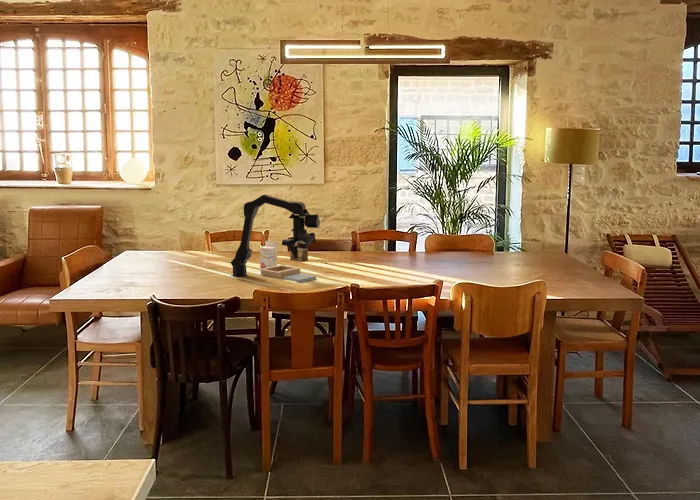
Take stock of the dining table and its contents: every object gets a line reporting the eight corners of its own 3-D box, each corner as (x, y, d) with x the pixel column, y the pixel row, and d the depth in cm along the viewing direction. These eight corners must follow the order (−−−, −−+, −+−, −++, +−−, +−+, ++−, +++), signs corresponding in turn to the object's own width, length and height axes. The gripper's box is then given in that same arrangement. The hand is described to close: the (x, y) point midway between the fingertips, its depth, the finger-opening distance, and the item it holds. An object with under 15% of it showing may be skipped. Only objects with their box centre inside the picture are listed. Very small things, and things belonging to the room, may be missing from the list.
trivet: (299, 282, 373) (299, 279, 372) (282, 279, 380) (282, 276, 380) (316, 279, 381) (316, 276, 381) (299, 276, 389) (299, 273, 389)
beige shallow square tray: (279, 279, 380) (278, 272, 380) (259, 275, 390) (259, 268, 390) (301, 274, 393) (301, 267, 392) (282, 271, 402) (281, 264, 402)
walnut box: (301, 262, 375) (301, 250, 374) (290, 260, 380) (290, 248, 379) (308, 260, 378) (307, 249, 377) (296, 259, 384) (296, 247, 383)
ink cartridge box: (259, 268, 412) (259, 241, 410) (265, 266, 416) (265, 240, 414) (272, 269, 407) (271, 242, 405) (277, 268, 412) (277, 241, 409)
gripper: (296, 230, 364) (297, 262, 367) (323, 226, 378) (323, 257, 381) (281, 228, 372) (281, 259, 374) (307, 224, 385) (307, 254, 388)
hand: (299, 257), depth 379 cm, fingers closed on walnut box, 4 cm apart
